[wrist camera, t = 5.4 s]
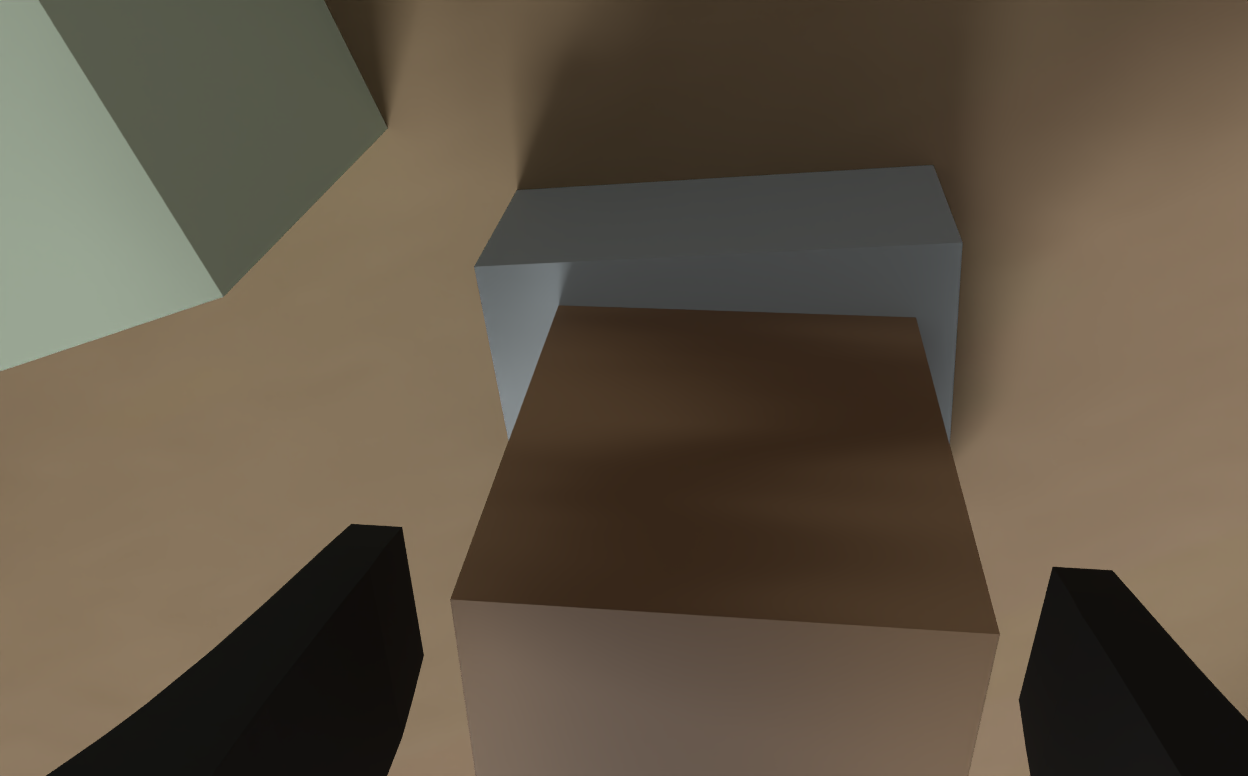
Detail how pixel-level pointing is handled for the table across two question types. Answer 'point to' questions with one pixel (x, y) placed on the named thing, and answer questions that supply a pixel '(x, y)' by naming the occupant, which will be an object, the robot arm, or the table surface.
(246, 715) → the robot arm
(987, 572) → the table surface
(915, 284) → the slate slab
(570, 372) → the walnut block
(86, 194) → the sage block
